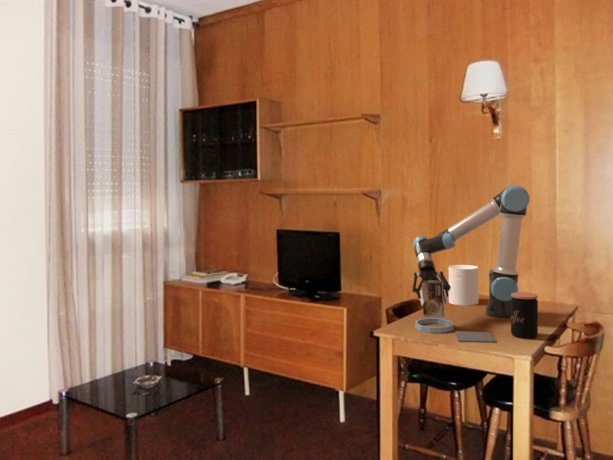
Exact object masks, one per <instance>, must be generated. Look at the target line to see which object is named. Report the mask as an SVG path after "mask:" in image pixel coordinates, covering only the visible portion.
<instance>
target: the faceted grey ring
mask: <svg viewBox="0 0 613 460" xmlns="http://www.w3.org/2000/svg"><path fill="white" fill-rule="evenodd" d="M430 324H432V325H443V326H427V325H430ZM454 325H455V324H454V322H453V321H452V320H449V319H446V318H435V317H423V318H419V319H417V320H415V321H414V326H415V329H416V330H417V331H419V332H422V333H429V334H444V333H445V334H447V333H450V332H452V331H455V330H454V329H455V328H454V327H455V326H454Z"/></svg>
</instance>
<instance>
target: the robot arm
mask: <svg viewBox="0 0 613 460" xmlns="http://www.w3.org/2000/svg"><path fill="white" fill-rule="evenodd" d="M529 203H530V195H529V192H528V190H526V188H524V187H522V186H520V185H509V186H507V187H505V188H504V189H503V190H502V191H500V192H499V193H498V194H497V195H495V196H494V197H492V198H491V201H489V202H487V203H486V204H484V205H482V206H481V207H480V208H478V209H476V210H475V211H473V212H471V214H469V215H467V216H465V217H464V218H462V219H461V220H458V221H457V222H456V223H454V224H453V225H451V226H449V227H448V228H446V229H445V230H443V231H441V232H439V233H437V234H436V235H435V236H434V237H431V238H427V236H424V235H423V236H422V235H420V236H417V237H415V238H414V239H413V241H412V243H413V250H414V255H415V257H416V258H415V259H416V262H417V269H418V272H414V273H413V276H412V277H413V284H412V292H411V293H415V294H416V295H417V299H420V304H421V307H423V305H424V300H423V294H422V283H423V281H443V302H444V304H445V305H448V303H449V291H450V288H451V286H450V285H449V281H448V280H447V279H446V277H445V275H444V272H443V271H440V272H437V270H436V267H435V263H434V260H433V255H432V254H435V253H439V252H443V251H446V250H450V249H452V248H455V247H456V244H455V242H456V241H458V240H460V239H461V238H463V237H465V236H466V235H468V234H470V233H471V232H473V231H475V230H476V229H478V228H479V227H481V226H484V224H486V223H488V222H489V221H490V220H493V219H494V218H496V217H497V216H501V226H500V235H499V243H498V250H497V251H498V253H497V259H496V265H495V266H496V267H494V268H491V269H489V273H488V277H489V279H488V280H489V281H488V283H489V284H488V286H489V287H488V288H489V289H488V294H489V297H488V302H487V304H486V307H485V315H487V316H489V317H494V318H501V319H502V318H505V319H507V318H508V319H509V318H511V299H512V297H511V294H512V293H515V292H519V285H518V283H519V282H518V281H519V273H520V272H518V271H517V269H516V268H517V262H518V261H517V260H518V254H519V246H520V244H519V243H520V238H521V237H520V236H521V228H522V221H523V219H524V218H525V217H527V210H528V209H527V208H528V205H529ZM419 277H420V278H421V280H420V282H419V284H418V286H417V283H418V278H419ZM439 278H440V279H439Z"/></svg>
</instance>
